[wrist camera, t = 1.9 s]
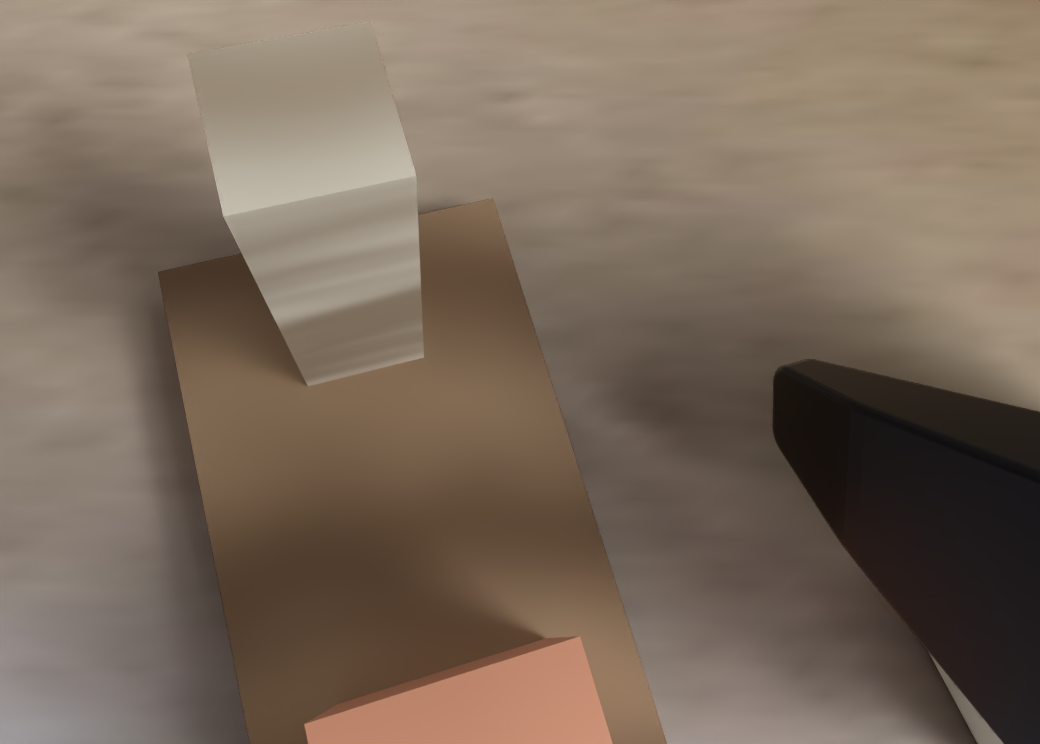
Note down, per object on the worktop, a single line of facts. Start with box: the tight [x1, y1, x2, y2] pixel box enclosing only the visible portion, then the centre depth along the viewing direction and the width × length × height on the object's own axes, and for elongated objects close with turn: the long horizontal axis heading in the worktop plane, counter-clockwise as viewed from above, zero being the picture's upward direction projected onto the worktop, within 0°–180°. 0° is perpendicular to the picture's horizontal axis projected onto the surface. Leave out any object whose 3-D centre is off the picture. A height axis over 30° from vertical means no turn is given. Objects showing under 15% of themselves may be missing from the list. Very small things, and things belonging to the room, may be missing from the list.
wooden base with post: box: [158, 21, 667, 744], centre depth 17 cm, size 18×9×10 cm, turn 17°
